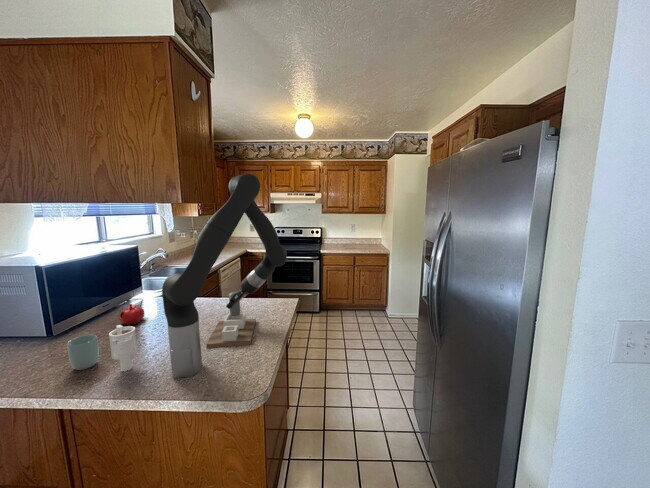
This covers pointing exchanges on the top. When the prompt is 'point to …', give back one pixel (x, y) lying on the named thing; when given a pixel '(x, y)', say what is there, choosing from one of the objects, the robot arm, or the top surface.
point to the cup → (83, 351)
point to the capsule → (234, 306)
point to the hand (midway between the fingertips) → (230, 305)
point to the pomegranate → (131, 315)
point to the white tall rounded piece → (123, 346)
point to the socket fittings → (233, 326)
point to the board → (242, 339)
